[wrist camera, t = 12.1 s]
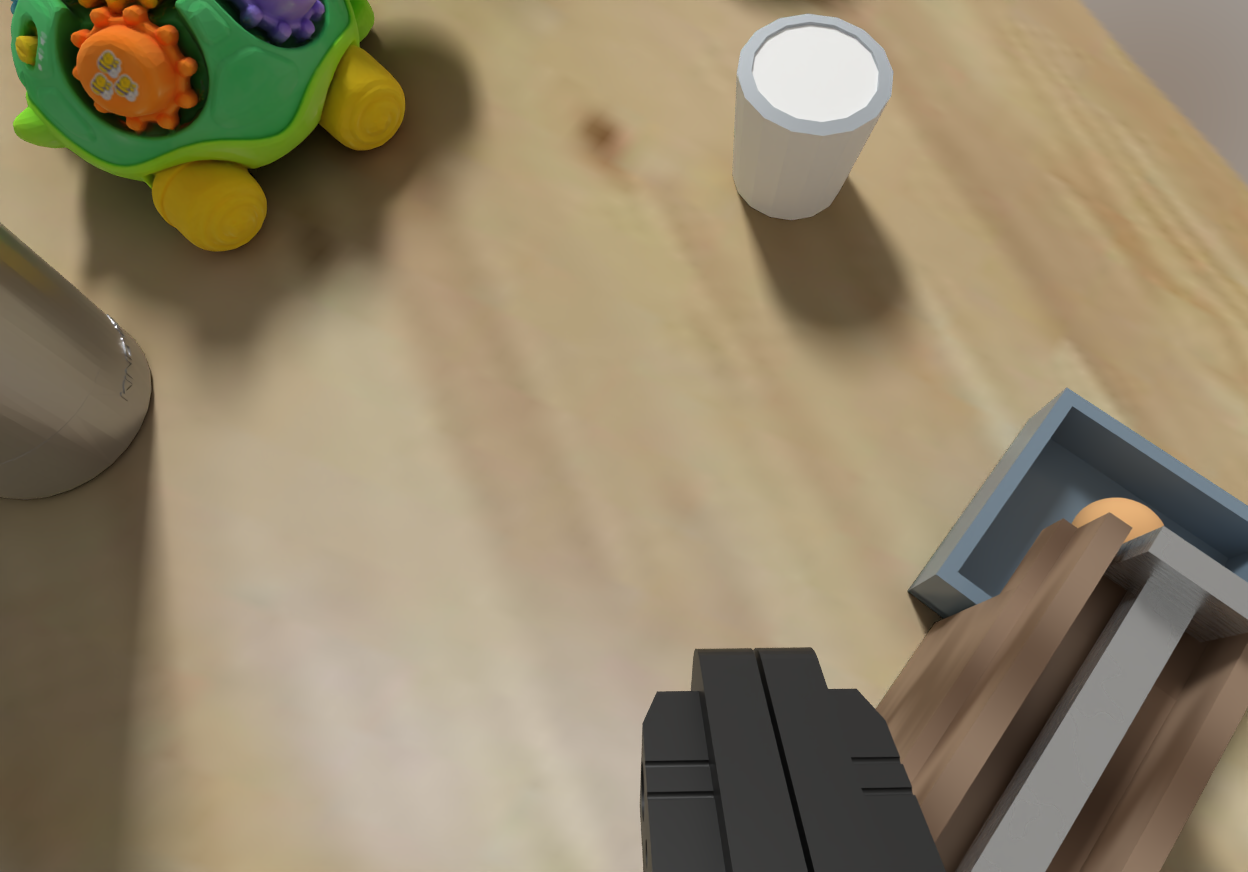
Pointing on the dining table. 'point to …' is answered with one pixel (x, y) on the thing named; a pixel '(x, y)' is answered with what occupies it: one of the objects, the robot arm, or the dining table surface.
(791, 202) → the white cup
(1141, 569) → the pusher
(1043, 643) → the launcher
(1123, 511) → the ball
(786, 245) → the dining table surface
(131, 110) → the turtle toy
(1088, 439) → the blue square tray
